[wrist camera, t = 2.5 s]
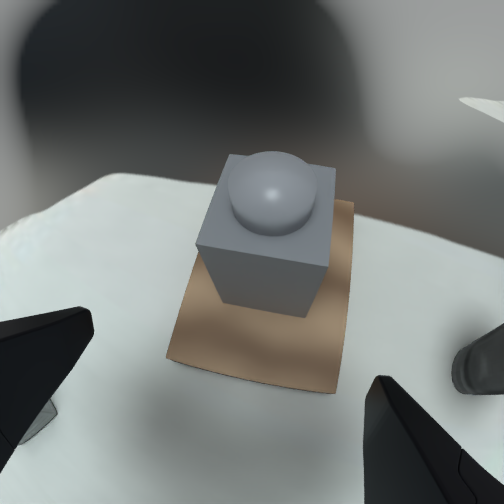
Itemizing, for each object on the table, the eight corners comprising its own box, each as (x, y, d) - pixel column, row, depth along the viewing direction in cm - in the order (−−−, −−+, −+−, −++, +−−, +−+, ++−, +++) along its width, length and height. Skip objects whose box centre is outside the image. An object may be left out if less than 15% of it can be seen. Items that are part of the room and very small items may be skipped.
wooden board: (329, 393, 18) (351, 393, 13) (174, 361, 20) (142, 348, 15) (349, 215, 26) (364, 171, 20) (225, 196, 27) (216, 151, 22)
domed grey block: (305, 318, 19) (335, 250, 11) (222, 302, 20) (187, 225, 12) (316, 244, 22) (340, 148, 13) (241, 232, 23) (226, 134, 14)
